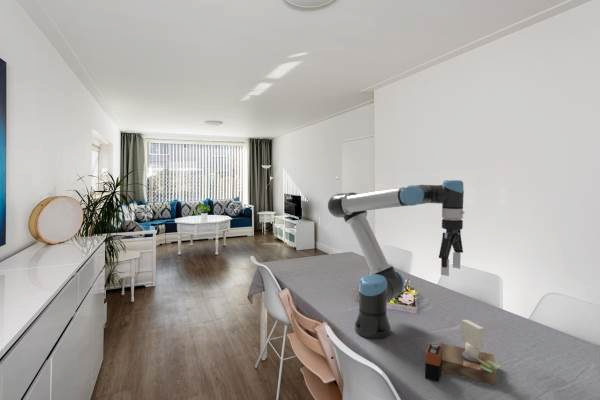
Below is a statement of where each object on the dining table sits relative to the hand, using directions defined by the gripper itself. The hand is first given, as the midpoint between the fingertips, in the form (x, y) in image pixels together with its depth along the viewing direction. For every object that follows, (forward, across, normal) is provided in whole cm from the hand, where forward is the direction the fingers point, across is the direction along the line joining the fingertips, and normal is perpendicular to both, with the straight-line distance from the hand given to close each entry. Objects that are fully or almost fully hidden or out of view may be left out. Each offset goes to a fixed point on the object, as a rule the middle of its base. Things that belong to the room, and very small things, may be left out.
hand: (450, 271), depth 128 cm
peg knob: (+25, -16, -14) cm, 32 cm away
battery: (+29, -28, -4) cm, 40 cm away
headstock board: (+29, -16, -10) cm, 34 cm away
